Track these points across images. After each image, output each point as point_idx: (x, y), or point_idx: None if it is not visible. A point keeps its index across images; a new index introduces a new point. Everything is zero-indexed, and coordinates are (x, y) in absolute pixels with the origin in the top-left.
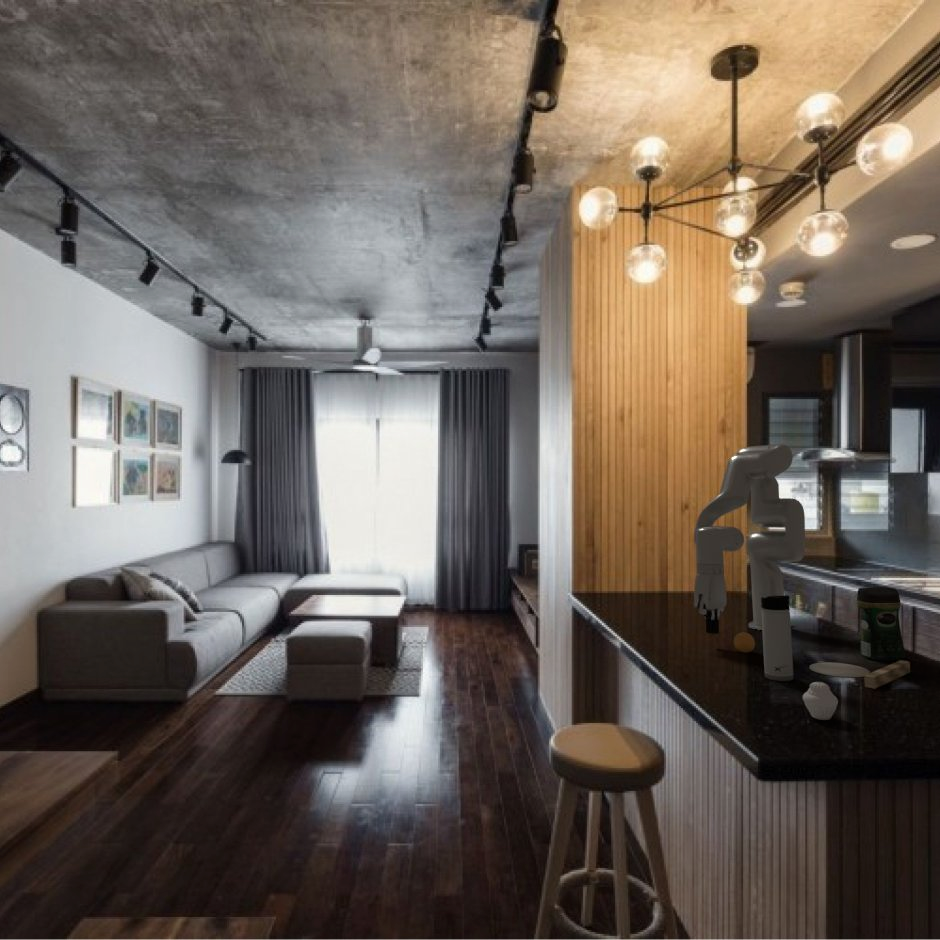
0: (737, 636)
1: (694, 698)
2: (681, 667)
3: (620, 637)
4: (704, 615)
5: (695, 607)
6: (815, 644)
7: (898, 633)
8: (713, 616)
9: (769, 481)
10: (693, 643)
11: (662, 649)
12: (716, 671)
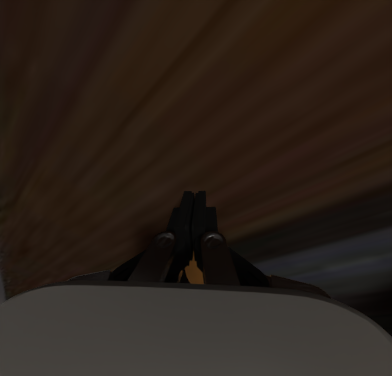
0: (190, 274)
1: (4, 284)
2: (34, 228)
3: None
4: (130, 261)
5: (21, 296)
6: (367, 290)
7: None
8: (168, 281)
9: None
10: (196, 112)
11: (52, 101)
12: (77, 263)
